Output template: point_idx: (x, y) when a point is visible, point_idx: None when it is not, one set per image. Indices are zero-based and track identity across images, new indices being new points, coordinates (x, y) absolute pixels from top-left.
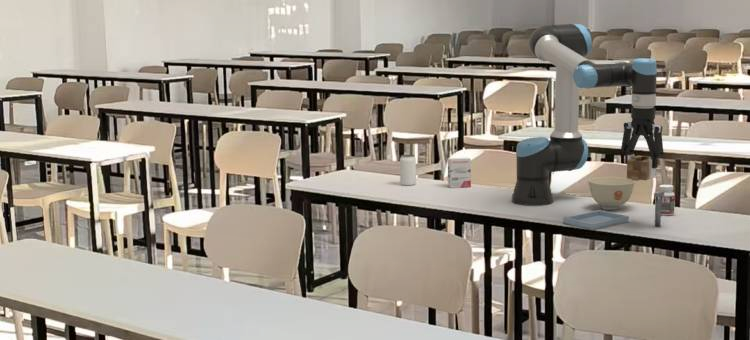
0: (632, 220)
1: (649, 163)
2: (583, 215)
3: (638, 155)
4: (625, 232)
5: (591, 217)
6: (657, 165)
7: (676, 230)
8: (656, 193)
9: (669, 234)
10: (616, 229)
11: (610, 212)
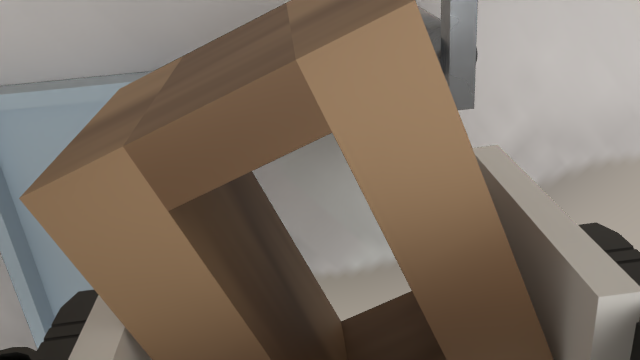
0: (182, 14)
1: (554, 354)
2: (17, 245)
3: (38, 193)
4: (380, 246)
5: (19, 184)
6: (626, 246)
7: (539, 3)
8: (467, 99)
9: (563, 109)
10: (305, 238)
11: (45, 93)
